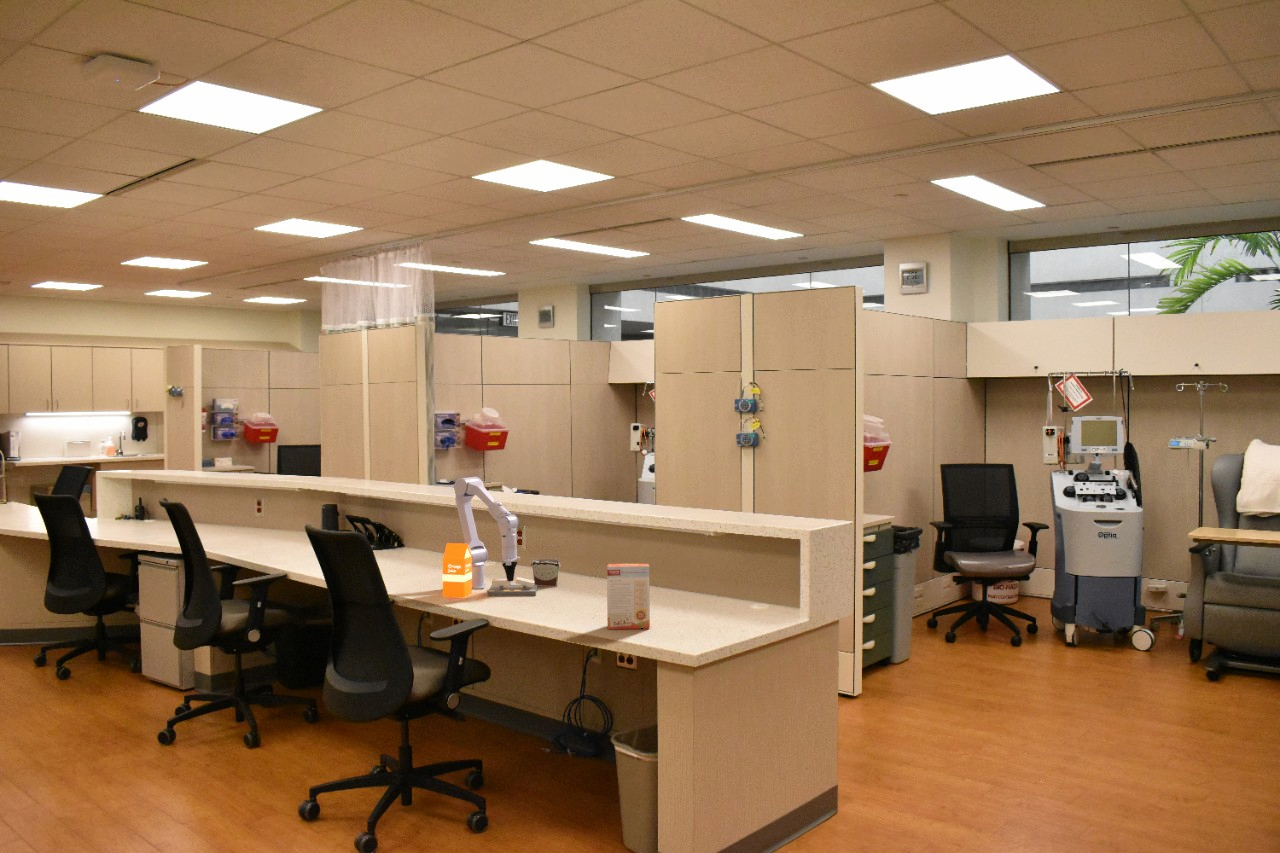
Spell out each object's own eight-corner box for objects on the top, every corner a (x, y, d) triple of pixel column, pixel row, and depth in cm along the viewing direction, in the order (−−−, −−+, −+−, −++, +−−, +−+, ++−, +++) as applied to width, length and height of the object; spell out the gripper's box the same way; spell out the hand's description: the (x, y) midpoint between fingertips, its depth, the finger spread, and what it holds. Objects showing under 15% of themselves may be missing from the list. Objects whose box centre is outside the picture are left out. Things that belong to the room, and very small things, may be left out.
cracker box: (649, 625, 320) (649, 562, 319) (649, 629, 314) (650, 566, 313) (607, 625, 319) (607, 562, 318) (607, 629, 313) (607, 566, 312)
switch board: (488, 596, 365) (488, 589, 365) (491, 589, 379) (491, 581, 379) (535, 595, 366) (535, 588, 366) (537, 588, 380) (537, 581, 380)
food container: (564, 583, 390) (564, 559, 389) (559, 586, 384) (559, 561, 384) (536, 582, 393) (536, 558, 393) (530, 585, 387) (530, 560, 387)
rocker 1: (491, 585, 369) (492, 581, 369) (493, 582, 374) (493, 578, 374) (510, 586, 370) (510, 581, 370) (510, 583, 375) (511, 579, 375)
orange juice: (464, 597, 363) (464, 545, 362) (442, 596, 364) (442, 544, 364) (472, 593, 370) (471, 542, 370) (450, 592, 372) (450, 541, 371)
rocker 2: (515, 583, 370) (516, 579, 370) (516, 580, 375) (517, 576, 375) (533, 587, 370) (534, 583, 370) (533, 584, 375) (534, 580, 375)
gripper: (518, 548, 365) (519, 583, 365) (520, 543, 379) (521, 577, 380) (499, 549, 364) (501, 584, 365) (502, 543, 379) (504, 578, 379)
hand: (510, 581), depth 372 cm, fingers closed, pressing on rocker 1
